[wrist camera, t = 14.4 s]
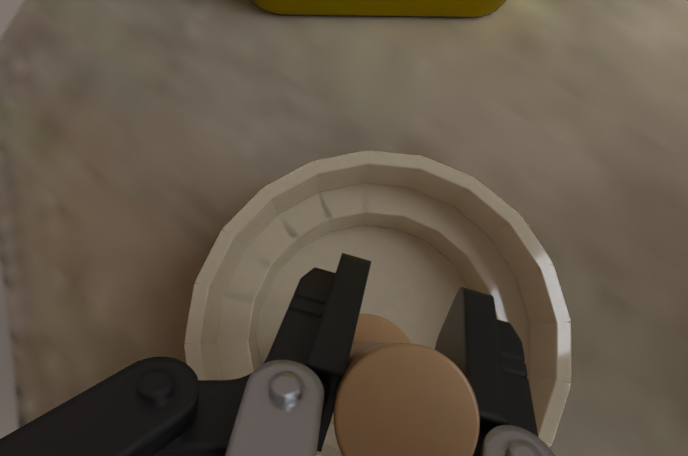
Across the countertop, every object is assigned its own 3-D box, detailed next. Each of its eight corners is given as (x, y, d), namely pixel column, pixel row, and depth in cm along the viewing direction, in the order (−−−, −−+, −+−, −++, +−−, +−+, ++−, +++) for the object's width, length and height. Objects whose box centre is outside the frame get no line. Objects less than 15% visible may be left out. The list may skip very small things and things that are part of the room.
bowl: (355, 141, 26) (362, 84, 21) (572, 322, 25) (647, 317, 19) (159, 347, 24) (103, 349, 18) (384, 567, 22) (403, 649, 16)
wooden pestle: (354, 296, 23) (391, 216, 8) (428, 363, 22) (612, 406, 8) (287, 371, 22) (197, 432, 7) (362, 443, 21) (426, 661, 7)
